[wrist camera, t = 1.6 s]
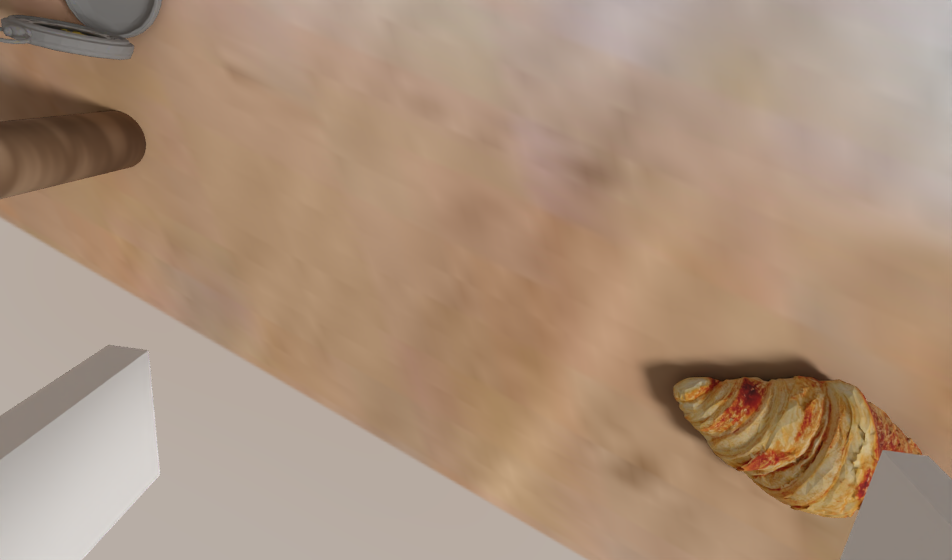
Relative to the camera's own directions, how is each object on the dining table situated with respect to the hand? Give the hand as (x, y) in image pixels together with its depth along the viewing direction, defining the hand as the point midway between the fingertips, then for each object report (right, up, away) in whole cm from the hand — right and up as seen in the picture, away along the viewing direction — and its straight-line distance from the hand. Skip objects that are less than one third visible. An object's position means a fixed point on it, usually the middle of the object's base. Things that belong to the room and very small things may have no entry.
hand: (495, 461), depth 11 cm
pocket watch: (-24, +22, +30) cm, 44 cm away
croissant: (+24, -7, +36) cm, 44 cm away
